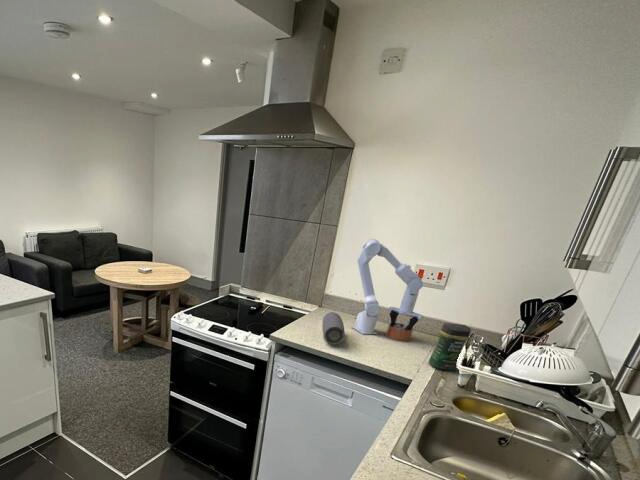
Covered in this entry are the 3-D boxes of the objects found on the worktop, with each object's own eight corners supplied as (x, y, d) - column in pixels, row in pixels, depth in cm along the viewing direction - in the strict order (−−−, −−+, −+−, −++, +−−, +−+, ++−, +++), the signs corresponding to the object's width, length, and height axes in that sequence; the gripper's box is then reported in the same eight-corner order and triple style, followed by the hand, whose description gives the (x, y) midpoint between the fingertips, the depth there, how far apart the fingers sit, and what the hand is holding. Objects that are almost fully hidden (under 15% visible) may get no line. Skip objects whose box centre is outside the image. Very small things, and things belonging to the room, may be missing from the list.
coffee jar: (434, 370, 156) (450, 326, 149) (425, 361, 163) (440, 319, 156) (459, 372, 156) (476, 329, 148) (448, 364, 163) (464, 322, 156)
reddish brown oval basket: (407, 343, 183) (411, 332, 181) (383, 336, 189) (386, 326, 186) (412, 335, 194) (416, 325, 191) (389, 330, 199) (392, 319, 197)
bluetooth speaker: (319, 329, 192) (323, 309, 188) (339, 332, 190) (344, 312, 186) (320, 345, 172) (325, 323, 168) (342, 348, 170) (348, 327, 166)
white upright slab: (390, 333, 192) (395, 318, 189) (392, 333, 193) (397, 317, 190) (404, 338, 186) (409, 322, 183) (406, 338, 187) (411, 322, 184)
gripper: (389, 299, 185) (381, 326, 191) (421, 307, 175) (412, 335, 181) (395, 297, 190) (388, 323, 195) (427, 305, 180) (418, 332, 185)
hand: (400, 329), depth 188 cm, fingers closed on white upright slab, 7 cm apart
